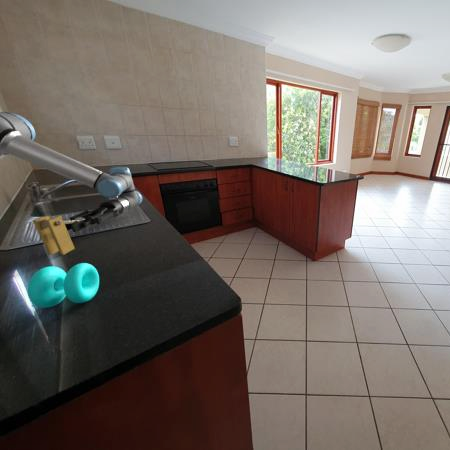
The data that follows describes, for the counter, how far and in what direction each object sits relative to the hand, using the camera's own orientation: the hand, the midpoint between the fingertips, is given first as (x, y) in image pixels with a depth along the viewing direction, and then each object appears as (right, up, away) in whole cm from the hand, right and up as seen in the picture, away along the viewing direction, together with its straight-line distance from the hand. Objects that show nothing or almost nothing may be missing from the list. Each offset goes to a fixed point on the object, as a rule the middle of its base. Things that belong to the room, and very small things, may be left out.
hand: (67, 228), depth 83 cm
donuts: (+23, -18, -22) cm, 37 cm away
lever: (0, +1, 0) cm, 1 cm away
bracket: (0, -9, -1) cm, 9 cm away
